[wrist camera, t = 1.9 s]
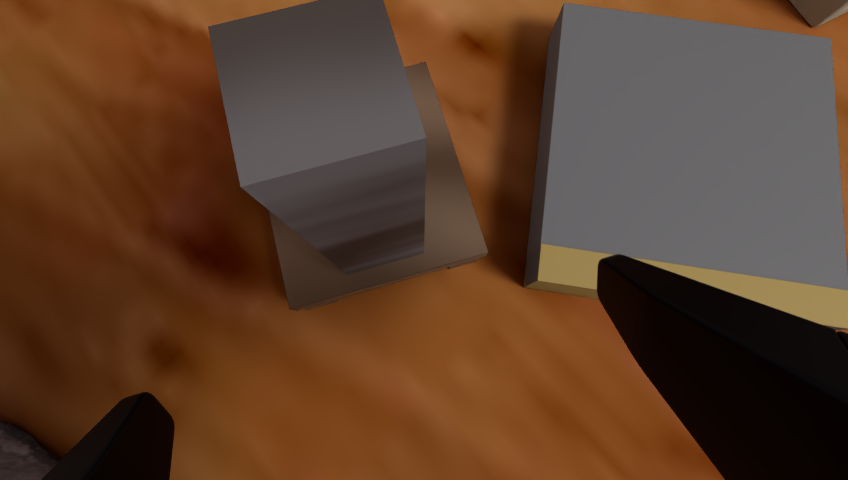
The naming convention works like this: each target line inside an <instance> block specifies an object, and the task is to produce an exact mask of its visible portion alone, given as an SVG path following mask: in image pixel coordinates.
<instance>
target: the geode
mask: <svg viewBox="0 0 848 480" xmlns="http://www.w3.org/2000/svg"><path fill="white" fill-rule="evenodd" d="M59 461H60V460H59V459H58V458H56V457H55V456H53V455H52V454H50V453H49V452H47V451H46V450H44V449H43V448H42V447H41V446H40V445H39V443H38V442H37V441H36V440H35V439H34V438H33V437H32V436H31V435H29V434H28V433H26V432H25V431H23V430H21V429H20V428H18V427H17V426H15V425H14V424H9V423H5V422H1V421H0V480H41V479H42V478H43V477H44V476H45V475H46V474H47V473H48V472H49V471H50V470H51V469H52V468H53V467H54V466H55V465H56V464H57V463H58V462H59Z"/></svg>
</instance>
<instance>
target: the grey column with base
mask: <svg viewBox="0 0 848 480" xmlns="http://www.w3.org/2000/svg"><path fill="white" fill-rule="evenodd" d="M208 29H209V34H210V39H211V44H212V49H213V54H214V59H215V64H216V69H217V73H218V78H219V83H220V88H221V93H222V98H223V103H224V108H225V113H226V118H227V123H228V128H229V133H230V138H231V143H232V148H233V153H234V158H235V163H236V168H237V173H238V177H239V182H240V187H241V188H242V189H243V190H245V191H246V192H247V193H248V194H250V195H251V196H252V197H253V198H254V199H256V200H257V201H258V202H259V203H261V204H262V205H263V206H264V207H265V208H267V209H268V211H269V216H270V220H271V225H272V230H273V234H274V239H275V243H276V248H277V253H278V257H279V262H280V267H281V271H282V276H283V281H284V285H285V290H286V295H287V299H288V304H289V309H293V310H300V309H307V310H308V309H312V308H315V307H319V306H322V305H326V304H329V303H333V302H336V301H337V300H336V299H339V298H342V297H346V296H349V295H353V294H356V293H360V292H363V291H367V290H370V289H374V288H377V287H381V286H384V285H388V284H391V283H395V282H398V281H402V280H405V279H409V278H412V277H416V276H419V275H423V274H426V273H430V272H433V271H437V270H440V269H443V268H447V267H449V269H452V268H455V267H459V266H462V265H466V264H469V263H472V262H476V261H477V260H478V259H479V258H482V257H485V256H486V254H487V253H488V250H487V247H486V244H485V241H484V238H483V235H482V232H481V229H480V226H479V223H478V219H477V216H476V213H475V210H474V207H473V204H472V201H471V198H470V195H469V192H468V189H467V186H466V183H465V180H464V177H463V174H462V171H461V168H460V165H459V162H458V159H457V156H456V153H455V150H454V147H453V143H452V140H451V137H450V134H449V131H448V128H447V125H446V122H445V119H444V116H443V113H442V110H441V107H440V104H439V101H438V98H437V95H436V92H435V89H434V86H433V83H432V80H431V77H430V74H429V70H428V67H427V64H426V62H423V63H419V64H415V65H411V66H407V67H404V65H403V62H402V59H401V56H400V53H399V49H398V46H397V43H396V40H395V37H394V33H393V30H392V27H391V24H390V21H389V18H388V14H387V11H386V8H385V5H384V2H383V0H318V1H314V2H310V3H306V4H301V5H297V6H293V7H289V8H285V9H280V10H276V11H272V12H268V13H263V14H259V15H255V16H251V17H247V18H242V19H238V20H234V21H230V22H226V23H221V24H217V25H213V26H209V27H208Z"/></svg>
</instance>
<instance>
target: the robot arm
mask: <svg viewBox="0 0 848 480" xmlns="http://www.w3.org/2000/svg"><path fill="white" fill-rule="evenodd" d="M597 294H598V298H599V300H600V302H601V304H602V305H603V307H604V309H605V310H606V312H607V314H608V315H609V317H610V319H611V320H612V322H613V324H614V325H615V327H616V329H617V330H618V332H619V334H620V335H621V337H622V339H623V340H624V342H625V344H626V345H627V347H628V349H629V350H630V352H631V354H632V355H633V357H634V358H635V360H636V362H637V363H638V365H639V366H640V367H641V369H642V370H643V372H644V373H645V374H646V376H647V377H648V378H649V380H650V381H651V382H652V384H653V385H654V386H655V388H656V389H657V390H658V392H659V393H660V394H661V396H662V397H663V398H664V399H665V401H666V402H667V403H668V405H669V406H670V407H671V409H672V410H673V411H674V413H675V414H676V415H677V417H678V418H679V419H680V421H681V422H682V423H683V425H684V426H685V427H686V429H687V430H688V431H689V433H690V434H691V435H692V437H693V438H694V439H695V441H696V442H697V443H698V444H699V446H700V447H701V448H702V450H703V451H704V452H705V454H706V455H707V456H708V458H709V459H710V460H711V462H712V463H713V464H714V466H715V467H716V468H717V470H718V471H719V472H720V474H721V475H722V476H723V478H724V479H725V480H848V334H847V333H844V332H841V331H838V332H836V331H835V330H834V329H832V328H830V327H827V326H824V325H821V324H818V323H816V322H813V321H810V320H807V319H804V318H801V317H798V316H796V315H793V314H790V313H787V312H784V311H781V310H779V309H776V308H773V307H770V306H767V305H764V304H761V303H759V302H756V301H753V300H750V299H747V298H744V297H742V296H739V295H736V294H733V293H730V292H727V291H725V290H722V289H719V288H716V287H713V286H710V285H707V284H705V283H702V282H699V281H696V280H693V279H690V278H688V277H685V276H682V275H679V274H676V273H673V272H670V271H668V270H665V269H662V268H659V267H656V266H653V265H651V264H648V263H645V262H642V261H639V260H636V259H633V258H631V257H628V256H625V255H622V254H616V255H612V256H609V257H605V258H602V259H601V260H600V261H599V263H598V271H597ZM173 439H174V421H173V419H172V416H171V415H170V414H169V413H168V412H167V410H166V409H165V408H164V407H163V406H162V405H161V404H160V402H159V401H158V400H157V399H156V398H155V397H154V396H153V395H152V394H150V393H148V392H143V393H139V394H136V395H132V396H129V397H126V398H124V399H122V400H121V401H120V402H119V403H118V404H117V405H116V406H115V407H114V408H113V409H112V410H111V411H110V412H109V413H108V414H107V415H106V416H105V417H104V418H103V419H102V420H101V421H100V422H99V423H98V424H97V425H96V426H95V427H94V428H93V429H92V430H91V431H90V432H88V433H87V434H86V435H85V436H84V437H83V438H82V439H81V440H80V441H79V442H78V443H77V444H76V445H75V446H74V447H73V448H72V449H71V450H70V451H69V452H68V453H67V454H66V455H65V456H64V457H63V458H62V459H61V460H60V461H59V462H58V463H57V464H56V465H55V466H54V467H53V468H52V469H51V470H50V471H49V472H48V473H47V474H46V475H45V476H44V477H43V478H42V479H41V480H169V479H170V469H171V459H172V449H173Z"/></svg>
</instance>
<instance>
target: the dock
mask: <svg viewBox="0 0 848 480" xmlns="http://www.w3.org/2000/svg"><path fill="white" fill-rule="evenodd" d="M616 254H622V255H625V256H628V257H631V258H633V259H636V260H639V261H642V262H645V263H648V264H651V265H653V266H656V267H659V268H662V269H665V270H668V271H670V272H673V273H676V274H679V275H682V276H685V277H688V278H690V279H693V280H696V281H699V282H702V283H705V284H707V285H710V286H713V287H716V288H719V289H722V290H725V291H727V292H730V293H733V294H736V295H739V296H742V297H744V298H747V299H750V300H753V301H756V302H759V303H761V304H764V305H767V306H770V307H773V308H776V309H779V310H781V311H784V312H787V313H790V314H793V315H796V316H798V317H801V318H804V319H807V320H810V321H813V322H816V323H818V324H821V325H824V326H827V327H830V328H832V329H834V330H848V275H847V261H846V246H845V232H844V218H843V203H842V189H841V175H840V160H839V146H838V132H837V117H836V103H835V89H834V74H833V60H832V46H831V39H830V38H823V37H816V36H808V35H801V34H793V33H786V32H778V31H771V30H763V29H756V28H748V27H741V26H734V25H726V24H719V23H711V22H704V21H696V20H689V19H681V18H674V17H667V16H659V15H652V14H644V13H637V12H629V11H622V10H614V9H607V8H599V7H592V6H585V5H577V4H570V3H564V4H563V6H562V9H561V11H560V13H559V16H558V18H557V20H556V23H555V25H554V28H553V30H552V32H551V35H550V37H549V44H548V54H547V64H546V73H545V83H544V92H543V102H542V112H541V121H540V131H539V141H538V150H537V160H536V170H535V179H534V189H533V199H532V208H531V218H530V228H529V237H528V247H527V257H526V266H525V276H524V285H523V287H524V288H530V289H537V290H543V291H549V292H556V293H562V294H569V295H575V296H582V297H588V298H594V299H599V298H598V294H597V271H598V263H599V261H600V260H601V259H602V258H605V257H609V256H612V255H616Z"/></svg>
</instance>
